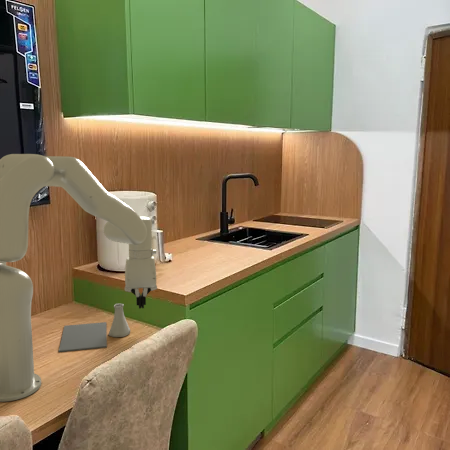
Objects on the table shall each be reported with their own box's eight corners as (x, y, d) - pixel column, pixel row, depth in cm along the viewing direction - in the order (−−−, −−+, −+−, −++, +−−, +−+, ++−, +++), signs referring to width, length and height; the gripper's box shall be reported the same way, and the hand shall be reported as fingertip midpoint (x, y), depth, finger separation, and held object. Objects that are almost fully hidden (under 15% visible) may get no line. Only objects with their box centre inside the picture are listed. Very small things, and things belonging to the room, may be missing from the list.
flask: (124, 339, 139) (124, 309, 138) (104, 336, 141) (103, 307, 139) (134, 330, 146) (133, 302, 145) (114, 328, 148) (113, 300, 146)
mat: (58, 352, 129) (58, 350, 129) (64, 327, 148) (64, 325, 148) (106, 347, 133) (106, 345, 133) (106, 323, 152) (106, 322, 152)
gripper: (161, 250, 147) (162, 301, 150) (116, 252, 143) (118, 305, 146) (164, 255, 140) (164, 309, 143) (117, 257, 136) (118, 312, 139)
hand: (141, 307), depth 144 cm, fingers closed
